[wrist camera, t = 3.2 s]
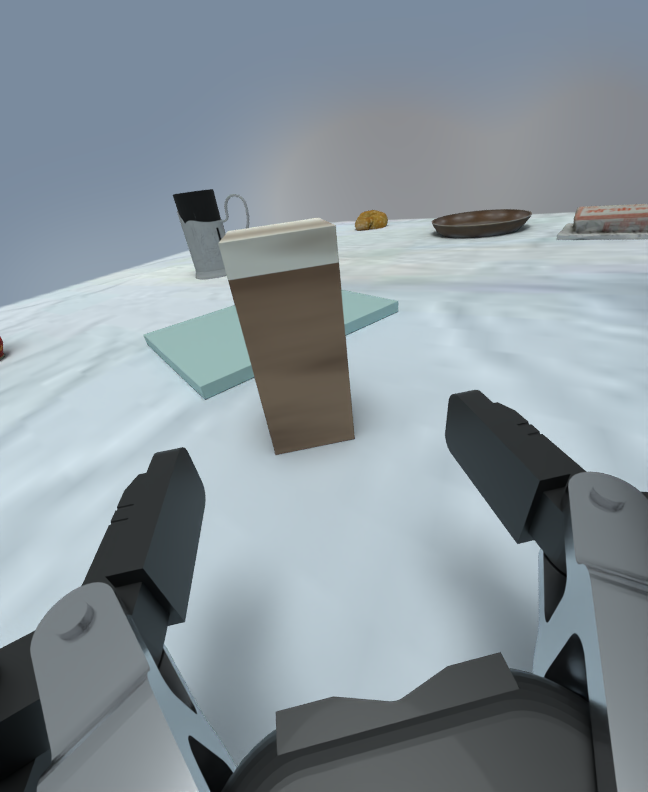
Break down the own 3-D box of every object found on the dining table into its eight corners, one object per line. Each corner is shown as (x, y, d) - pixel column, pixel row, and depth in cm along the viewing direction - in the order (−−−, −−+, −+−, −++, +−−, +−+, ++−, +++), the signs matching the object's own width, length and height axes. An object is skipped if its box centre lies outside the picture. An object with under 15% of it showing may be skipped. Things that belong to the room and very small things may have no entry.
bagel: (347, 230, 104) (346, 213, 101) (372, 225, 109) (371, 209, 106) (369, 232, 97) (368, 213, 94) (394, 226, 102) (394, 208, 99)
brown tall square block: (273, 409, 24) (227, 231, 18) (338, 396, 25) (318, 217, 18) (275, 454, 20) (218, 243, 14) (354, 438, 20) (335, 225, 14)
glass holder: (205, 270, 74) (182, 194, 66) (265, 264, 72) (249, 184, 64) (188, 281, 67) (160, 196, 59) (255, 274, 65) (235, 185, 57)
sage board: (306, 290, 51) (305, 282, 50) (398, 311, 38) (398, 301, 38) (147, 344, 39) (143, 334, 38) (205, 399, 27) (200, 387, 26)
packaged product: (707, 197, 52) (713, 205, 46) (691, 230, 55) (695, 242, 49) (571, 204, 63) (561, 212, 57) (564, 232, 65) (554, 242, 59)
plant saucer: (506, 241, 64) (509, 222, 62) (413, 239, 77) (414, 224, 75) (542, 224, 75) (546, 207, 73) (456, 225, 88) (458, 211, 86)
